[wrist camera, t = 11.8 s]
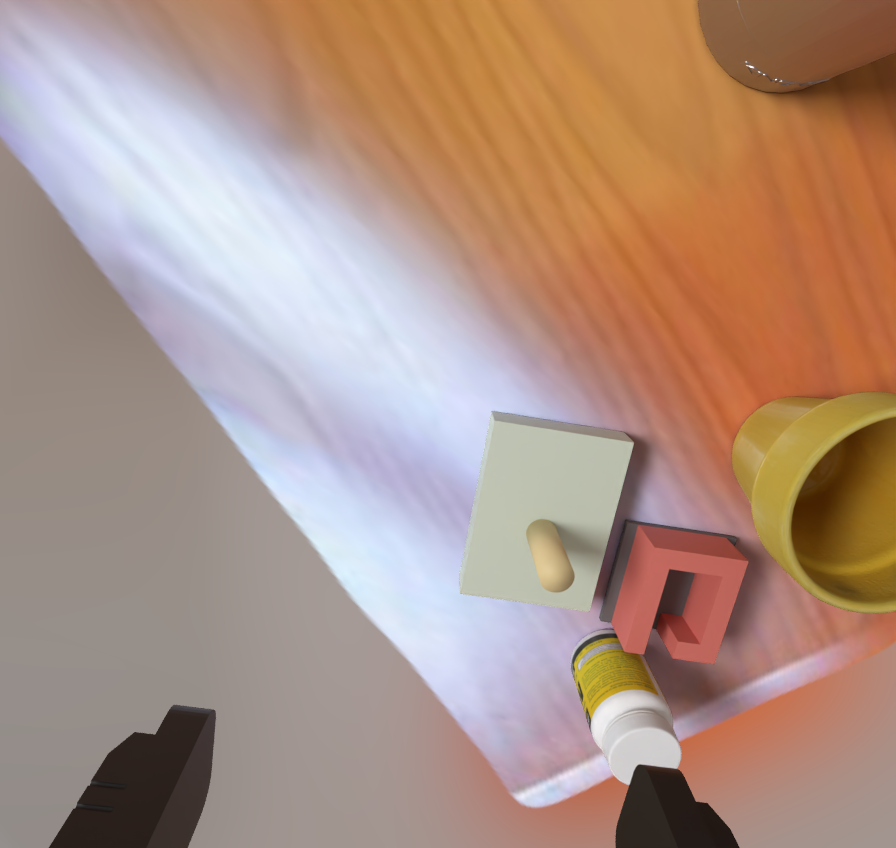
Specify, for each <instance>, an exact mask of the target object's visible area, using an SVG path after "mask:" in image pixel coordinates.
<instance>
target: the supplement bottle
mask: <svg viewBox="0 0 896 848" xmlns="http://www.w3.org/2000/svg"><path fill="white" fill-rule="evenodd" d="M571 670H572V674H573V677H574V680H575V683H576V686H577V690H578V693H579V696H580V700H581V703H582V705H583V709H584V712H585V715H586V718H587V722H588V724H589V728H590V731H591V734H592V736H593V739H594V741H595V742H596V744H597V745H598V747H599V748H600V749H601V750H602V751H603V753H604V756H605V758H606V760H607V762H608V765H609V767H610V770H611V772H612V773H613V775H614V776H615V777H616V778H617V779H618V780H620V781H621V782H623V783H625V784H627V785H630V782H631V778H632V775H633V772H634V770H635V768H636V766H637V765H639V764H643V765H651V766H659V767H667V768H675V769H677V767H678V766H679V763H680V760H681V747H680V744H679V742H678V739H677V737H676V735H675V732H674V730H673V717H672V713H671V710H670V708H669V705H668V703H667V701H666V699H665V697H664V695H663V693H662V691H661V689H660V687H659V685H658V683H657V681H656V679H655V677H654V675H653V673H652V671H651V669H650V667H649V665H648V663H647V661H646V659H645V657H644V655H643V654H635V653H628V652H624V650H623V648H622V646H621V643H620V641H619V639H618V637H617V635H616V632H615V630H612V629H606V630H599V631H595V632H593V633H591V634H589V635H587V636H586V637H584V638H583V639H582V640H581V641H580V642H579V643H578V644H577V645H576V647H575V648H574V650H573V652H572V655H571Z"/></svg>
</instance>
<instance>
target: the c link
mask: <svg viewBox="0 0 896 848" xmlns="http://www.w3.org/2000/svg"><path fill="white" fill-rule="evenodd" d="M748 562H749V561H748V560H747V559H746V558H745V557H744V556H743V555H742V554H741V553H740V552H739V551H738V550H737V549H736V548H735V547H734V546H733V544H732V543H731V542H730V541H729V540H728V539H727V538H725V537H719V536H712V535H705V534H699V533H692V532H685V531H679V530H672V529H665V528H659V527H652V526H645V525H639V524H638V527H637V531H636V535H635V538H634V542H633V545H632V549H631V553H630V556H629V560H628V564H627V567H626V571H625V574H624V578H623V582H622V585H621V589H620V592H619V596H618V600H617V603H616V607H615V611H614V614H613V618H612V621H611V624H612V626H613V628H614V630H615V632H616V635H617V637H618V639H619V641H620V643H621V646H622V648H623V650H624V652H628V653H635V654H643V655H644V652H645V649H646V646H647V642H648V639H649V636H650V632H651V629H652V626H653V622H654V619H655V616H656V612H657V609H658V605H659V602H660V599H661V595H662V592H663V589H664V585H665V582H666V579H667V575H668V572H669V569H672V570H679V571H686V572H693V573H695V575H694V579H693V582H692V585H691V588H690V592H689V595H688V598H687V601H686V604H685V608H684V611H683V614H682V616H679V615H672V614H665V613H661V614H660V618H659V621H658V624H657V628H656V630H657V631H658V633H659V635H660V637H661V639H662V640H663V642H664V644H665V646H666V647H667V649H668V651H669V653H670V655H671V656H672V658H673V659H680V660H687V661H694V662H702V663H709V664H714V663H715V660H716V657H717V654H718V651H719V648H720V646H721V643H722V640H723V637H724V634H725V631H726V628H727V625H728V622H729V619H730V616H731V613H732V610H733V607H734V604H735V601H736V598H737V595H738V592H739V589H740V586H741V583H742V580H743V577H744V574H745V571H746V568H747V565H748Z"/></svg>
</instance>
